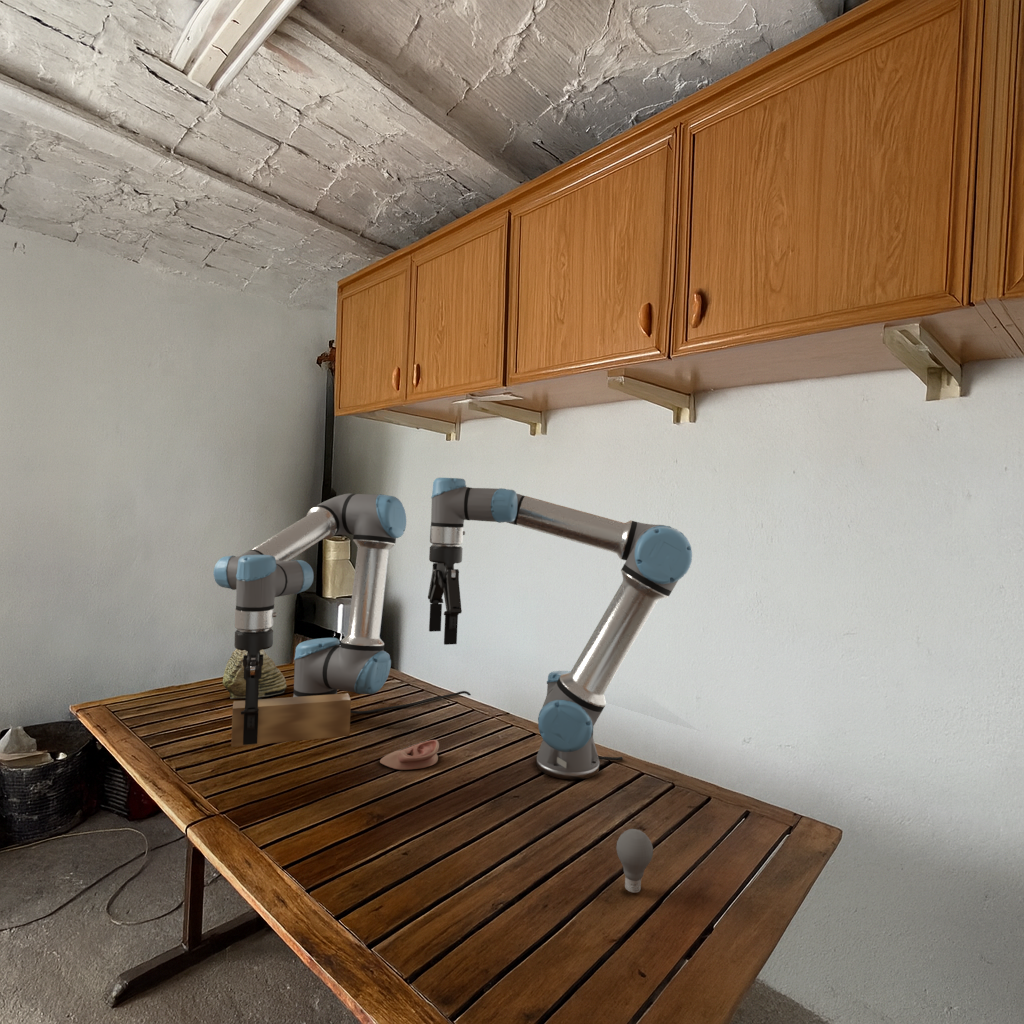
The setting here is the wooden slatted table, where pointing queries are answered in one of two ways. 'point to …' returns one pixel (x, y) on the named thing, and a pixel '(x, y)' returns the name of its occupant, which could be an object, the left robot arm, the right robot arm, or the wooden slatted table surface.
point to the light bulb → (634, 857)
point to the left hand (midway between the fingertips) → (250, 738)
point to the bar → (295, 719)
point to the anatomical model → (413, 756)
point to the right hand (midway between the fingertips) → (442, 637)
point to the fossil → (268, 683)
